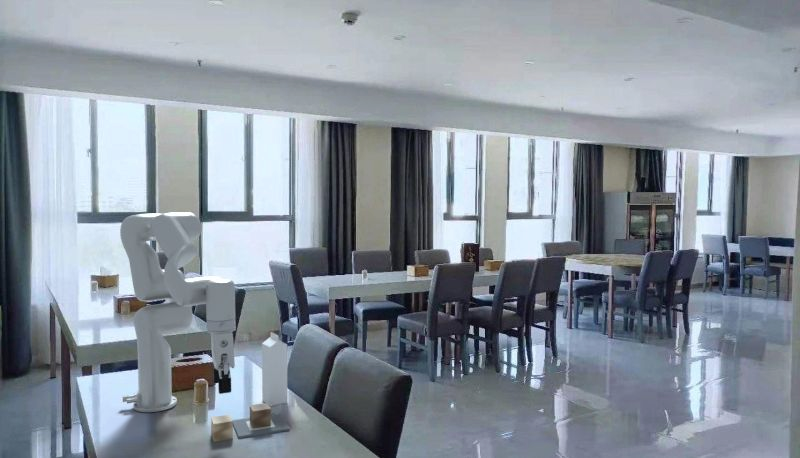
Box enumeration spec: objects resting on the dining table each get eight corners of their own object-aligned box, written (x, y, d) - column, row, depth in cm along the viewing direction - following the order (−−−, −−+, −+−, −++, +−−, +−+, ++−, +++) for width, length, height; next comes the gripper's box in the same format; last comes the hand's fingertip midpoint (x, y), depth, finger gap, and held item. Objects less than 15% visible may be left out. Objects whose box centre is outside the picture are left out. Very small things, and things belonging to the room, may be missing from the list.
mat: (238, 438, 159) (238, 436, 159) (232, 422, 170) (232, 420, 170) (289, 430, 165) (289, 428, 165) (280, 415, 176) (280, 413, 176)
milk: (270, 406, 183) (269, 337, 181) (262, 401, 188) (261, 333, 186) (287, 402, 187) (287, 334, 185) (279, 397, 191) (279, 330, 190)
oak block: (213, 442, 157) (213, 423, 157) (211, 435, 161) (211, 417, 161) (232, 439, 159) (232, 421, 159) (230, 432, 164) (229, 414, 163)
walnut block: (253, 428, 164) (252, 411, 164) (249, 422, 169) (249, 405, 168) (270, 425, 166) (270, 408, 166) (267, 419, 171) (267, 402, 170)
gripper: (240, 330, 152) (241, 395, 153) (230, 318, 168) (232, 377, 168) (210, 333, 149) (211, 399, 150) (203, 320, 165) (204, 380, 165)
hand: (222, 387), depth 159 cm, fingers open, 9 cm apart
